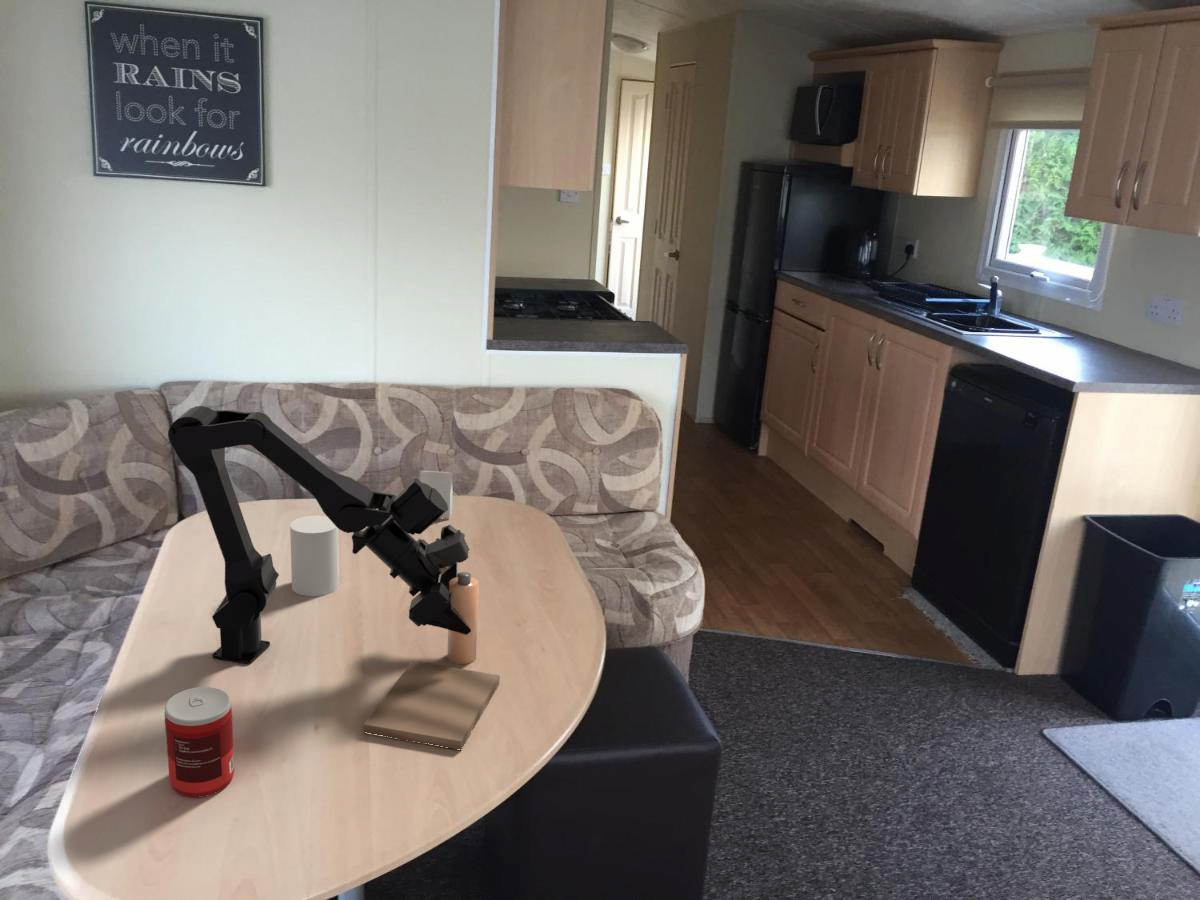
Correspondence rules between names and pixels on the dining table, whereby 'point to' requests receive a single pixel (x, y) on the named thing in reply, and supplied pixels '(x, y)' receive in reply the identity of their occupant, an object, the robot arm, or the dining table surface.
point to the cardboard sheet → (433, 705)
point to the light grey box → (440, 487)
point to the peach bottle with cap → (466, 604)
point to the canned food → (199, 741)
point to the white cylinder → (314, 556)
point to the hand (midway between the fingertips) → (470, 618)
